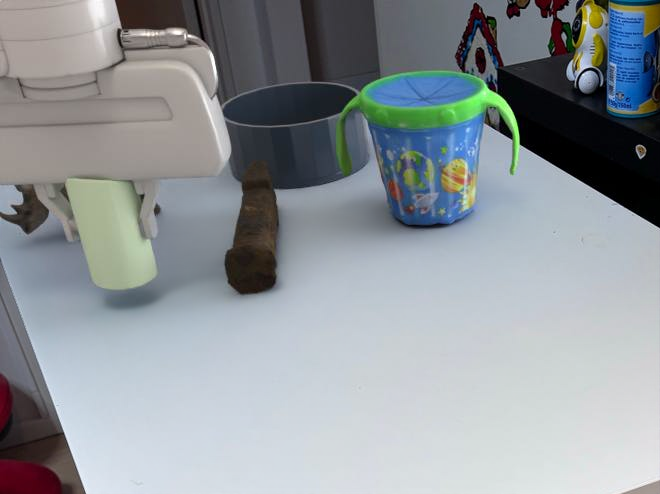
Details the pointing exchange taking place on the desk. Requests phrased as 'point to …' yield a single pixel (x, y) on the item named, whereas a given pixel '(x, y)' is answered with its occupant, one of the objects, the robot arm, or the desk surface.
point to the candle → (111, 232)
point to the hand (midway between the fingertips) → (113, 238)
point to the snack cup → (427, 141)
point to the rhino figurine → (36, 209)
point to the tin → (294, 132)
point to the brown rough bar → (254, 234)
